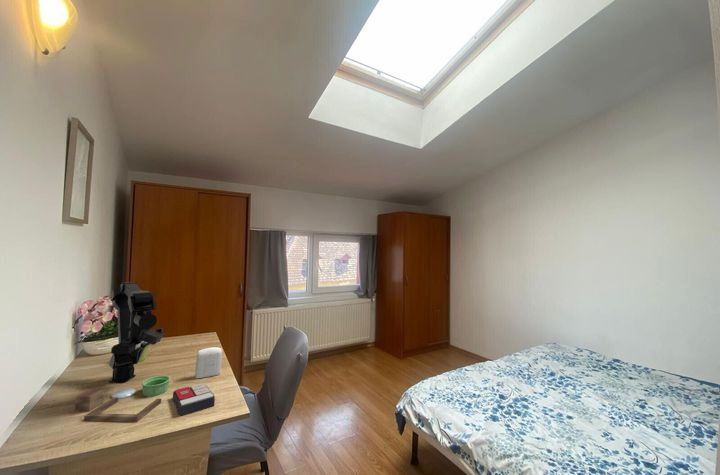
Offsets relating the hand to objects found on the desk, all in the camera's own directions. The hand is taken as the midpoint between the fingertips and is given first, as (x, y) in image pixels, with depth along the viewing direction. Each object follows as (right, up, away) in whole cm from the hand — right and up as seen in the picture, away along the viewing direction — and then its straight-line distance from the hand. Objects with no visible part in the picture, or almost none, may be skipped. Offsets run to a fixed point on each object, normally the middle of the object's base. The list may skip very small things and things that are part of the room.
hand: (135, 363), depth 110 cm
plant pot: (-22, -11, +28) cm, 37 cm away
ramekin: (+8, -11, 0) cm, 14 cm away
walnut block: (-7, -10, -12) cm, 17 cm away
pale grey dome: (-2, -10, -3) cm, 11 cm away
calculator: (+26, -12, -6) cm, 30 cm away
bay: (+7, -10, -13) cm, 18 cm away
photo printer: (+20, -13, +16) cm, 29 cm away
